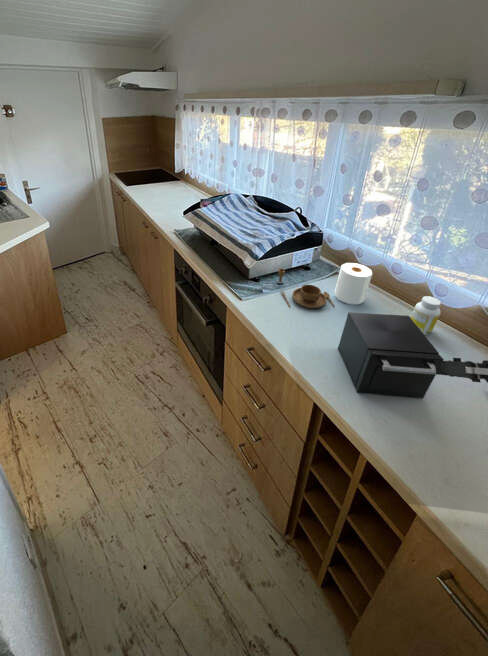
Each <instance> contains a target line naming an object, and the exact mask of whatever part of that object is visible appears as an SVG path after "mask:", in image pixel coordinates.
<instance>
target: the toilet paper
mask: <svg viewBox="0 0 488 656" xmlns="http://www.w3.org/2000/svg"><path fill="white" fill-rule="evenodd" d="M372 277H373V270H372V269H371V268H370V267H368V266H366V265H364V264H360V263H357V262H345V263H343V264H341V266H340V270H339V274H338V277H337V281H336V286H335V289H334V297H335V298H336V299H338V300H339V301H340V302H343V303H345V304H348V305H360V304H362V303H364V301H365V298H366V296H367V292H368V289H369V286H370V283H371V280H372Z"/></svg>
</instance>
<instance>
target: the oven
mask: <svg viewBox="0 0 488 656" xmlns="http://www.w3.org/2000/svg"><path fill="white" fill-rule="evenodd" d="M337 350H338V352H339V354H340V357H341V359H342V362H343V364H344V366H345V368H346V371H347V373H348V376H349V378H350V380H351V383H352V385H353V387H354V388H355V386H356V383H357V381H358V378H359V375H360V372H361V370H362V367H363V364H364V361H365V358H366V356H367V353H368V350H382V351H396V352H410V353H424V354H438V355H440V353H439V351H438V350H437V348H436V347H435V346H434V345H433V343H431V341H430V340H429V339H428V338H427V335H424V334H423V333H422V332H421V330H420V329H419V328H418V327H417V325H416V324H415V323H414V322H413V320H412V319H411V316H410V315H403V314H402V315H401V314H384V313H371V312H370V313H368V312H367V313H366V312H353V311H351V312H350V311H349V312H348V313H347V315H346V319H345V323H344V326H343V329H342V333H341V336H340V340H339V343H338V347H337Z"/></svg>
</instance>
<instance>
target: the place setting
mask: <svg viewBox="0 0 488 656" xmlns="http://www.w3.org/2000/svg"><path fill="white" fill-rule="evenodd" d="M277 273H278V274H277V275H278V276H279V278H278V280H279V282H282V281H283V277H284V276H285V273H286V270H285V269H284V268H279V269H278V271H277ZM280 294H281V296H282V297H283V298H284V300H285V301H286V304H287V306H288V307H289V308H291V305H290V303H289V301H288V299H287V296H286V292H285V290H281V291H280ZM292 299H293V300H294V302H295V303H296V304H298V305H299V306H301V307H304V308H306V309H307V308H308V309H314V310H315V309H319V308H322V307H324V306H325V305H326V303H327V299H328V301H329V302H330V304H331V306H332V307H333V308H335V307H336V305H335V304H334V303H333V301H332V300H331V298H330V294H329V293H328V292H326V291H324V292H322V290H321V289H320V288H319V287H318V286H317V285H313V284H303V285H302V286H301V287H299V288H295V289H294V290H293V291H292Z"/></svg>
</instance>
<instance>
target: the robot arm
mask: <svg viewBox="0 0 488 656" xmlns="http://www.w3.org/2000/svg"><path fill="white" fill-rule="evenodd" d="M434 361H435V368H436V374H438V375H437V376H446V377H447V376H448V377H452V378H454V377H456V378H464V379H469V380H471V382H472V383H481V380H485V382H486V383H487V384H488V359H487V360H486V359H484V360H482V362H481V363H480V362H474V361H471V360H466V361H462V358H461V357H452V360H443V361H440V360H434Z"/></svg>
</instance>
